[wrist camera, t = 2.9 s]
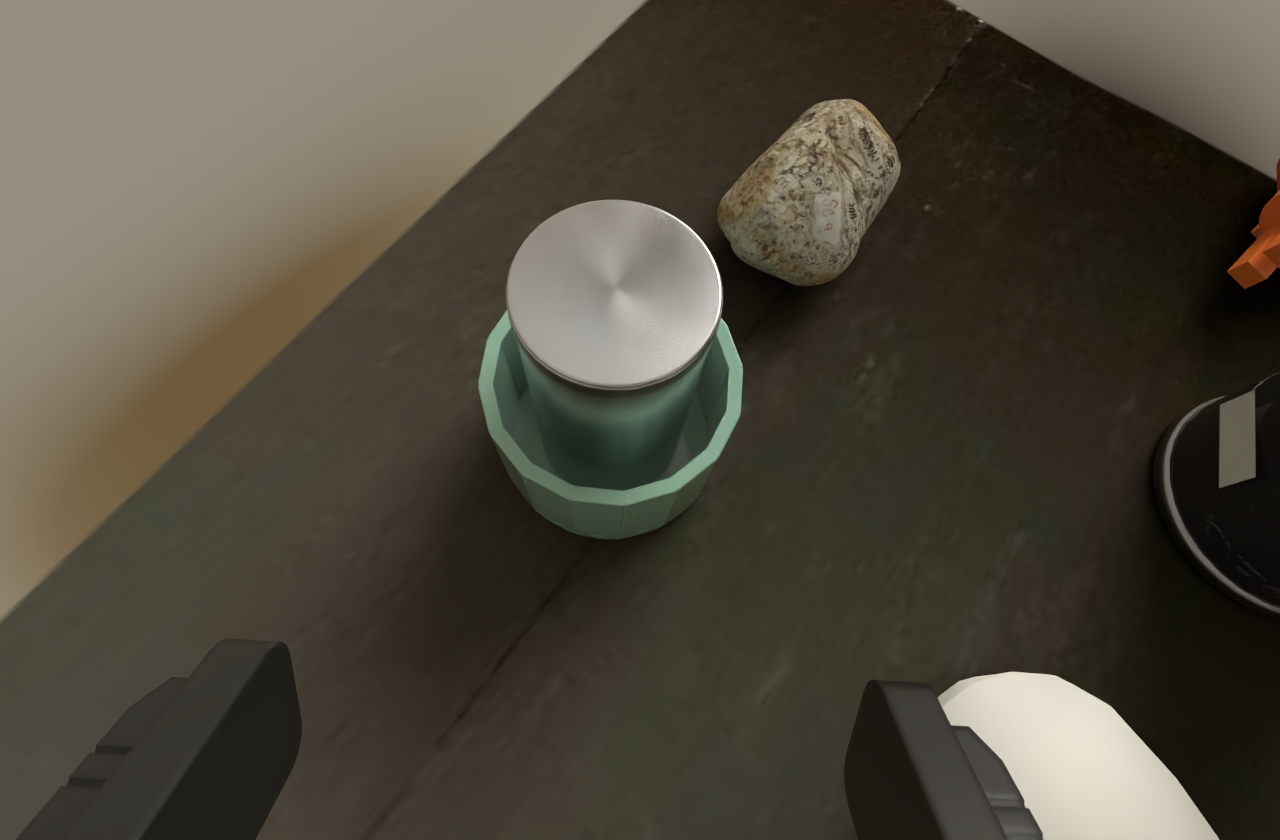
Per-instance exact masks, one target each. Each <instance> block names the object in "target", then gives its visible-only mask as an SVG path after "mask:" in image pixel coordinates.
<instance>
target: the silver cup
mask: <svg viewBox="0 0 1280 840" xmlns="http://www.w3.org/2000/svg"><path fill="white" fill-rule="evenodd" d="M506 306H507V311H508V317H509V320H510V324H511V327H512V330H513V333H514V336H515V338H516V340H517V344H518V348H519V352H520V356H521V359H522V363H523V367H524V371H525V375H526V379H527V383H528V387H529V391H530V395H531V399H532V402H533V406H534V410H535V414H536V418H537V422H538V426H539V430H540V434H541V438H542V442H543V446H544V449H545V452H546V455H547V457H548V459H549V461H550V463H551V464H552V466H553V467H554V469H555V470H556V471H557V472H558V473H559V474H560V475H561V477H563V478H564V479H565V480H566V481H567V482H569V483H570V484H572V485H574V486H583V487H592V488H601V489H610V490H619V491H625V490H628V489H632V488H635V487H639V486H642V485H646V484H650V483H652V482H654V481H655V480H656V479H657V478H658V477H659V476H661V475H662V473H663V472H664V471H665V470H666V469H667V467H668V466H669V464H670V462H671V461H672V459H673V456H674V454H675V452H676V449H677V445H678V442H679V439H680V436H681V433H682V430H683V427H684V424H685V421H686V418H687V415H688V412H689V409H690V406H691V403H692V400H693V397H694V394H695V390H696V387H697V384H698V381H699V378H700V375H701V372H702V369H703V366H704V363H705V360H706V357H707V354H708V351H709V348H710V346H711V344H712V342H713V340H714V338H715V335H716V332H717V329H718V326H719V323H720V320H721V316H722V310H723V286H722V279H721V276H720V273H719V269H718V266H717V264H716V262H715V260H714V258H713V256H712V254H711V253H710V251H709V249H708V248H707V246H706V245H705V243H704V242H703V241H702V240H701V239H700V237H699V236H698V235H697V234H696V233H695V232H694V231H693V230H692V229H691V228H690V227H688V226H687V225H686V224H685V223H683V222H682V221H681V220H679V219H678V218H676V217H674V216H673V215H671V214H669V213H667V212H665V211H663V210H661V209H658V208H656V207H653V206H650V205H647V204H643V203H639V202H634V201H628V200H598V201H592V202H586V203H583V204H579V205H575V206H573V207H570V208H568V209H565V210H563V211H561V212H559V213H557V214H555V215H553V216H552V217H550V218H549V219H547V220H546V221H544V222H543V223H542V224H540V225H539V226H538V227H537V228H536V229H535V230H534V231H533V232H532V233H531V234H530V235H529V236H528V238H527V239H526V240H525V241H524V242H523V244H522V245H521V247H520V248H519V250H518V252H517V253H516V255H515V257H514V259H513V262H512V264H511V266H510V270H509V273H508V277H507V283H506Z"/></svg>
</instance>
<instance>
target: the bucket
mask: <svg viewBox="0 0 1280 840" xmlns="http://www.w3.org/2000/svg"><path fill="white" fill-rule="evenodd" d="M742 382H743V366H742V363H741V360H740V358H739V355H738V352H737V350H736V347H735V345H734V342H733V339H732V337H731V334H730V332H729V329H728V326H727V324H726V323H725V322H724V321H723V320H722V319H721V320H720V323H719V326H718V329H717V332H716V335H715V338H714V340H713V342H712V344H711V346H710V348H709V351H708V354H707V357H706V360H705V363H704V366H703V369H702V372H701V375H700V378H699V381H698V384H697V387H696V390H695V394H694V397H693V400H692V403H691V406H690V409H689V412H688V415H687V418H686V421H685V424H684V427H683V430H682V433H681V436H680V439H679V442H678V445H677V449H676V452H675V454H674V456H673V459H672V461H671V462H670V464H669V466H668V467H667V469H666V470H665V471H664V472H663V473H662V475H661V476H659V477H658V478H657V479H656V480H655V481H654V482H652V483H650V484H646V485H642V486H639V487H635V488H632V489H628V490H625V491H619V490H610V489H601V488H592V487H583V486H574V485H572V484H570V483H569V482H567V481H566V480H565V479H564V478H563V477H561V475H560V474H559V473H558V472H557V471H556V470H555V469H554V467H553V466H552V464H551V463H550V461H549V459H548V457H547V455H546V452H545V449H544V446H543V442H542V438H541V434H540V430H539V426H538V422H537V418H536V414H535V410H534V406H533V402H532V399H531V395H530V391H529V387H528V383H527V379H526V375H525V371H524V367H523V363H522V359H521V356H520V352H519V348H518V344H517V340H516V338H515V336H514V333H513V330H512V327H511V324H510V320H509V317H508V311H506V312H505V314H504V315H503V317H502V318H501V320H500V321H499V322H498V324H497V325H496V327H495V328H494V329H493V331H492V332H491V334H490V335H489V337H488V339H487V341H486V346H485V351H484V356H483V361H482V366H481V371H480V376H479V381H478V389H479V393H480V398H481V402H482V406H483V410H484V414H485V419H486V423H487V427H488V431H489V434H490V436H491V438H492V440H493V442H494V444H495V446H496V449H497V451H498V453H499V455H500V457H501V459H502V461H503V464H504V466H505V468H506V470H507V472H508V474H509V476H510V479H511V480H512V481H513V483H514V484H515V485H516V486H517V488H518V489H519V491H520V492H521V494H522V495H523V497H524V498H525V499H526V501H527V502H528V503H529V504H530V505H531V506H532V507H533V508H534V510H535V511H537V512H538V513H539V514H541V515H542V516H543V517H544V518H546V519H547V520H549V521H550V522H552V523H553V524H555V525H556V526H559V527H561V528H563V529H565V530H567V531H569V532H572V533H575V534H579V535H582V536H586V537H592V538H597V539H620V538H629V537H633V536H638V535H642V534H645V533H647V532H650V531H653V530H655V529H657V528H659V527H661V526H663V525H665V524H667V523H668V522H670V521H671V520H673V519H674V518H675V517H677V516H678V515H679V514H681V513H682V512H683V511H684V510H685V509H686V508H687V507H688V506H689V505H690V504H691V503H692V502H693V501H694V500H696V498H697V497H698V495H699V494H700V492H701V490H702V488H703V486H704V484H705V482H706V480H707V479H708V477H709V475H710V473H711V471H712V469H713V467H714V466H715V464H716V462H717V460H718V458H719V456H720V454H721V452H722V450H723V448H724V447H725V445H726V443H727V441H728V439H729V437H730V435H731V433H732V431H733V429H734V427H735V425H736V423H737V422H738V420H739V418H740V414H741V401H742Z"/></svg>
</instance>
